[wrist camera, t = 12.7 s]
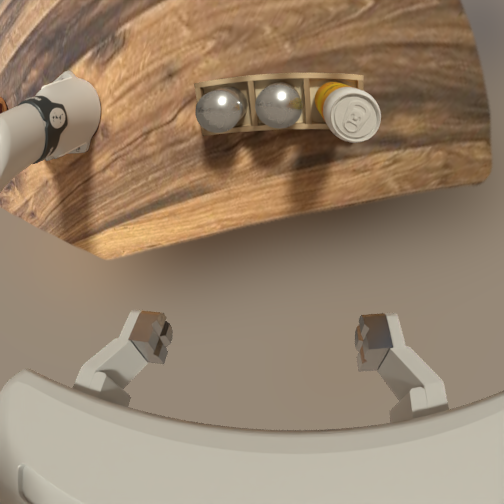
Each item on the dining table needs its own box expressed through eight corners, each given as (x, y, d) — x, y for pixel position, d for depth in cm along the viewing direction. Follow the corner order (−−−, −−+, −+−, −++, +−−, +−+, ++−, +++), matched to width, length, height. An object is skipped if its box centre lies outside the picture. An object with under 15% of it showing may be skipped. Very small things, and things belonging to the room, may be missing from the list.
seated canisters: (212, 124, 40) (199, 135, 35) (207, 89, 36) (192, 94, 31) (301, 118, 38) (303, 127, 32) (299, 81, 34) (301, 83, 29)
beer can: (359, 93, 34) (393, 108, 22) (343, 125, 37) (367, 155, 26) (323, 74, 33) (342, 78, 21) (307, 108, 37) (316, 129, 25)
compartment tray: (208, 130, 43) (202, 136, 40) (201, 82, 37) (194, 83, 35) (358, 125, 39) (363, 130, 36) (357, 74, 33) (363, 75, 31)
